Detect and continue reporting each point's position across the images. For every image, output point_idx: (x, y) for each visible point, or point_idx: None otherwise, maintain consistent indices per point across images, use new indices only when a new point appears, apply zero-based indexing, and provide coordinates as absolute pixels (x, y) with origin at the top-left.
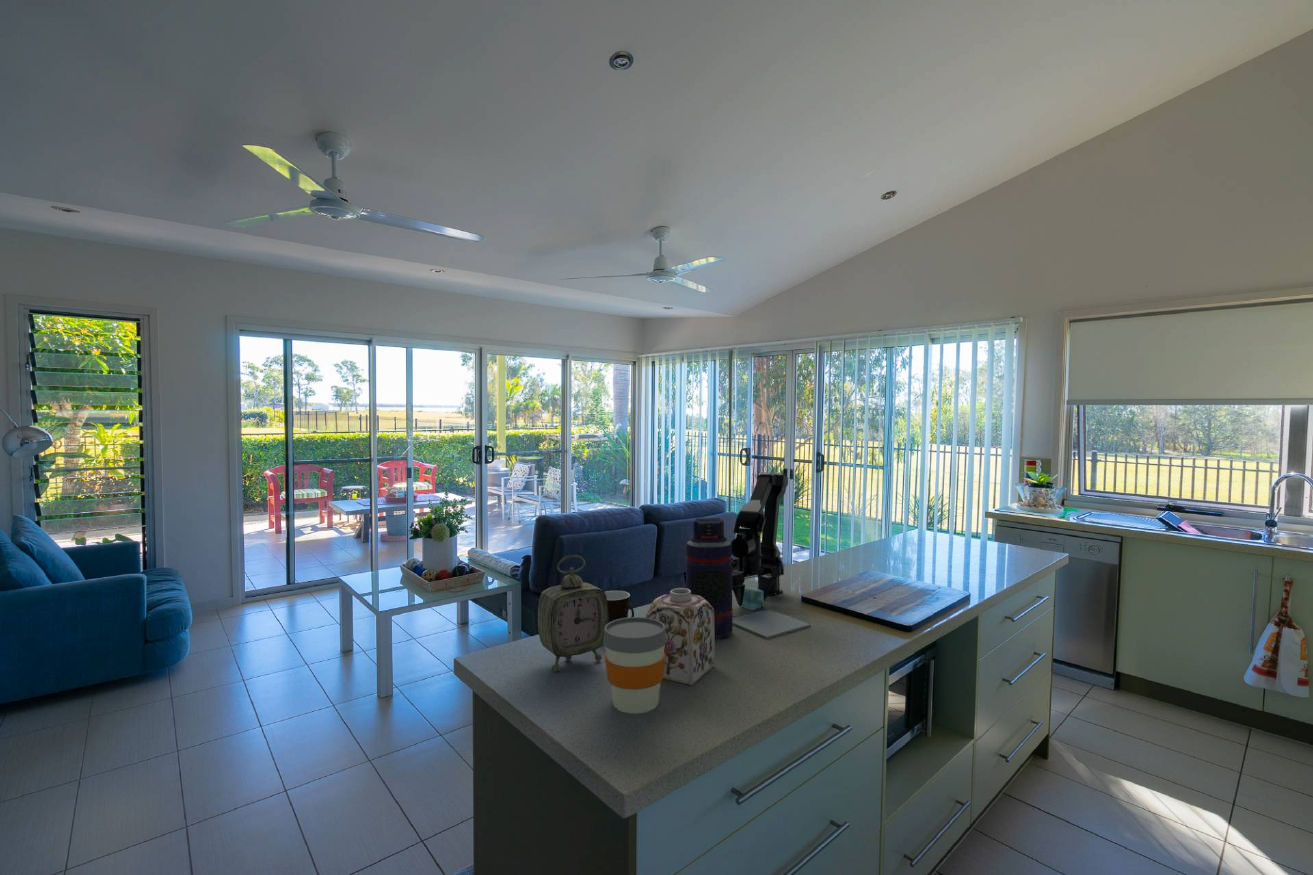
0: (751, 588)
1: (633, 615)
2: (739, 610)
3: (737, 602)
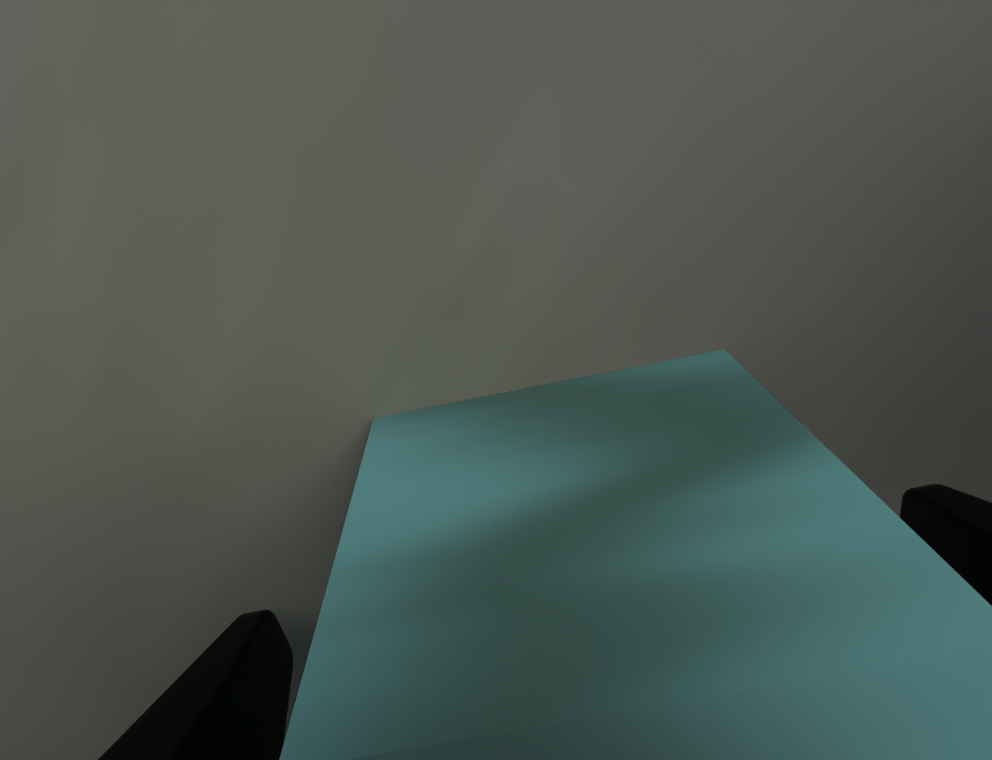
0: (856, 752)
1: None
2: (262, 605)
3: (195, 668)
